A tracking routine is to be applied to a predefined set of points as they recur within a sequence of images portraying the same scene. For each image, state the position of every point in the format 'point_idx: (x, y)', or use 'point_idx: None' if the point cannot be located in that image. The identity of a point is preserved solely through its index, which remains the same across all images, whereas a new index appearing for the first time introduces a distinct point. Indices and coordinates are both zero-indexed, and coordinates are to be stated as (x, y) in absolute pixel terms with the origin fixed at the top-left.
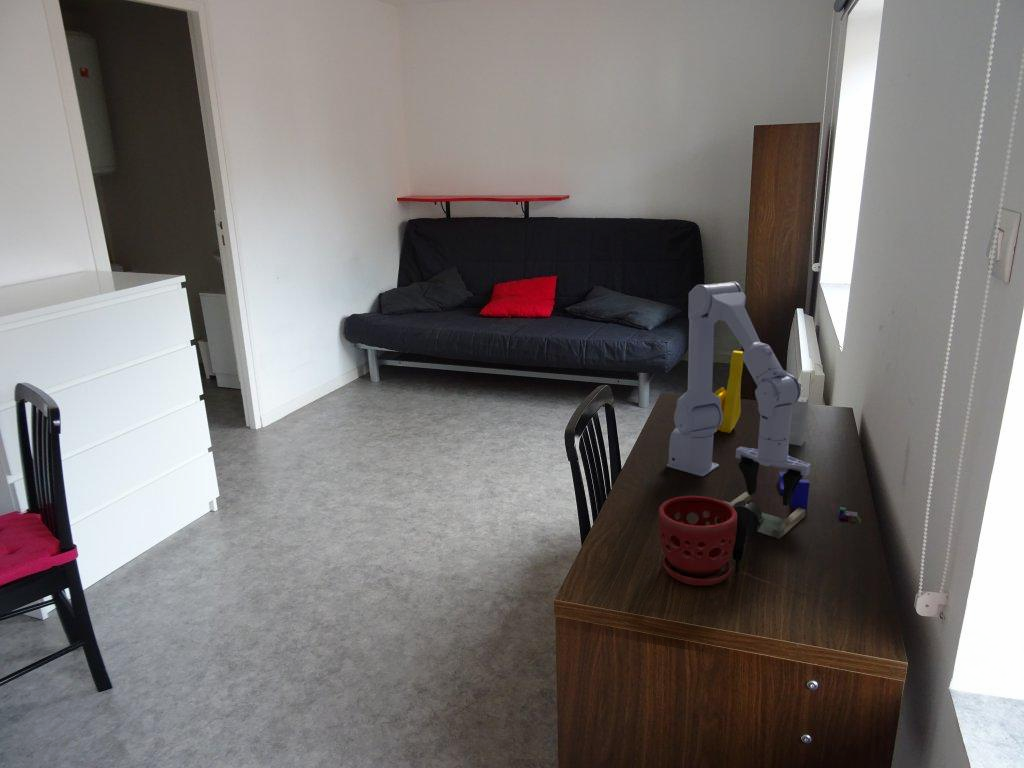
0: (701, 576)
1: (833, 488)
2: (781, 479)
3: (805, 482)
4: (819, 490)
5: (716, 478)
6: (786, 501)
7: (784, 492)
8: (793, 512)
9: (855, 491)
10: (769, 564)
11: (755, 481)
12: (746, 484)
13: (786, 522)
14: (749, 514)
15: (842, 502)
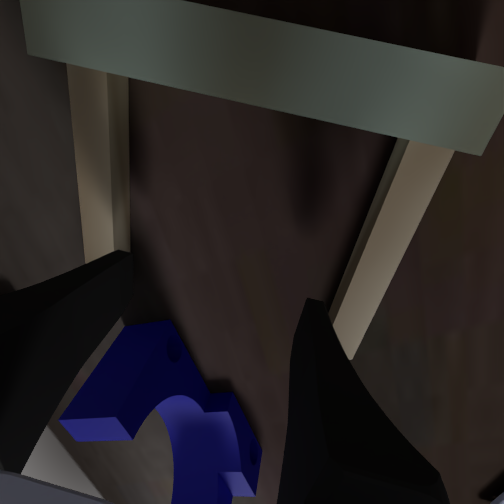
0: None
1: (121, 448)
2: (236, 457)
3: (72, 420)
4: (145, 434)
5: (483, 448)
6: (99, 258)
7: (73, 284)
8: (111, 247)
9: (73, 443)
10: None
11: (292, 386)
12: (338, 341)
13: (87, 127)
14: None
15: None
